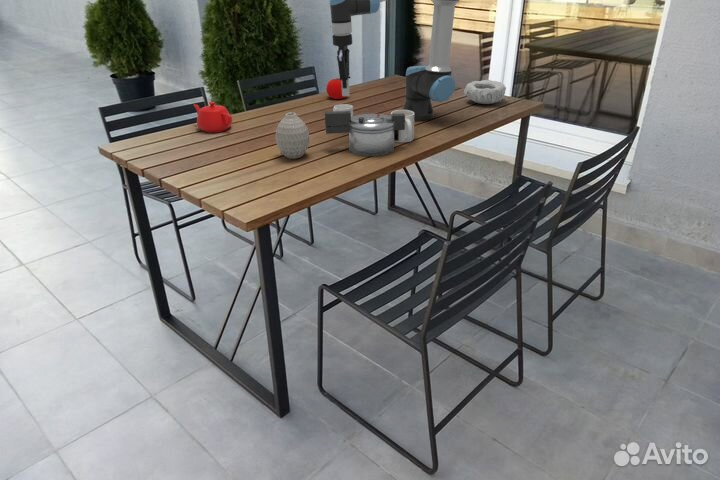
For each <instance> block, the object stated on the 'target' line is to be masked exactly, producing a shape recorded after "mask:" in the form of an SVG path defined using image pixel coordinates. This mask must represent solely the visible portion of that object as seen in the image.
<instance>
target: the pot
mask: <svg viewBox="0 0 720 480" xmlns="http://www.w3.org/2000/svg"><path fill="white" fill-rule="evenodd" d="M324 125H325V124H324ZM394 130H405V123H395V125H394V126H393V127H391V128H388V129H384V130H376V131H365V130H357V129H353V128H351V127H349V126H348V125H325V134H327V135H329V134H330V135H331V134H348V149H349V152H350V153H352V154H353V155H357V156H363V157H379V156H380V157H381V156H385V155H388V154H390V153H392V152H394V150H395V142H394Z"/></svg>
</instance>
